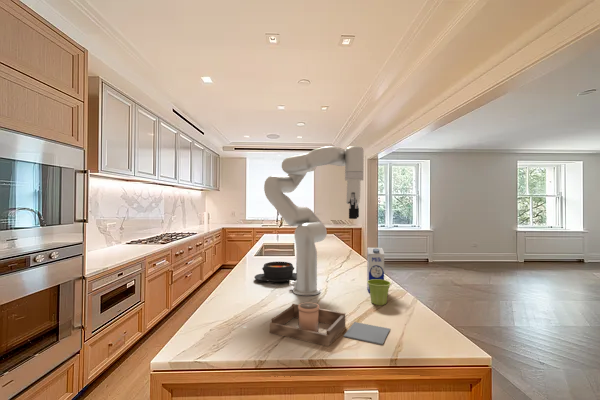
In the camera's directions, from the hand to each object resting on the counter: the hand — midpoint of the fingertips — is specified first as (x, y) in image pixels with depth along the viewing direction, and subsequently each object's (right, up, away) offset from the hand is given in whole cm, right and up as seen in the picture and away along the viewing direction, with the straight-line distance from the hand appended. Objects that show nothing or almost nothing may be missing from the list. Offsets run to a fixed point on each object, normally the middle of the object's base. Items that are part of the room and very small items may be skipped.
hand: (354, 218), depth 129 cm
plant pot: (+10, -35, 0) cm, 37 cm away
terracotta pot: (-20, -35, -27) cm, 48 cm away
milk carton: (+13, -35, +16) cm, 41 cm away
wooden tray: (-20, -35, -27) cm, 48 cm away
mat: (-1, -35, -29) cm, 46 cm away
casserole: (-34, -35, +35) cm, 60 cm away
